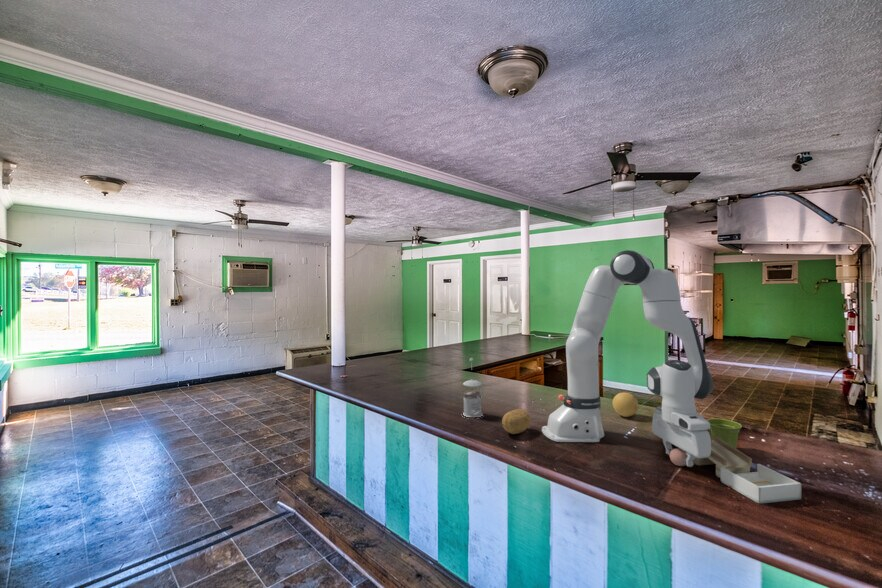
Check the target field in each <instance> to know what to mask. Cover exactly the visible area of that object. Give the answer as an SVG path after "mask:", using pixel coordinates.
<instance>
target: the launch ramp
mask: <svg viewBox="0 0 882 588" xmlns="http://www.w3.org/2000/svg"><path fill="white" fill-rule="evenodd" d="M752 461H753V458H751V457H750V456H748V455H746V454H745V453H744V452H742V451H741V450H739V449H738V448H737V447H736V448H734V447H733V446H731V445H730V444H728V443H727V442H725V441H724V440H722V439H720V438H719V437H717V436H714V440H712V439H711V455H710V456H709V457H708V458H697V457H696V458H695V459H694V461H693V464H695V465H697V466H709V465H715V476H716V477H717V478H720V479H721V467H723V468H725V469H727V470H729V471H731V472H732V473H734V474H739V473H750V472H751V467H752V465H753V462H752Z"/></svg>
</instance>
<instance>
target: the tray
mask: <svg viewBox="0 0 882 588" xmlns="http://www.w3.org/2000/svg"><path fill="white" fill-rule="evenodd" d="M720 482H721V483H722V484H724V485H725V486H727V487H729V488H731V489H733V490H735V491H736V492H738V493H740V494H741V495H743V496H745V497H746V498H748V499H750V500H752V501H754V502H755V503H757V505H758V504H769V503H778V502H787V501H788V502H789V501H797V500H802V483H801V482H799V481H797V480H795V479H793V478H790V477H788V476H786V475H784V474H782V473H780V472H778V471H775V470H773V469H771V468H769V467H767V466H766V465H765V466H764V465H763V464H761V463H757V471H752V472H751V471H750V473H739V474H734V473H732V472H731V471H729V470H727V469H725V468H723V467H721V478H720Z"/></svg>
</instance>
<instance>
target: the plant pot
mask: <svg viewBox="0 0 882 588" xmlns="http://www.w3.org/2000/svg"><path fill="white" fill-rule="evenodd" d="M706 420H707V421H708V422H709V423H710V429H709V430H710V438H711V440H714V436H717V437H719V438H720V439H722V440H724V441H725V442H727V443H728V444H730V445H731V446H733V447H734V448H736V449H737V443H738V438H739V433H740V431H741V429H742V428H743V426H742V424H741V423H739V422H736V421H733V420H729V419H726V418H725V419H724V418H708V419H706Z"/></svg>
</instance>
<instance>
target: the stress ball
mask: <svg viewBox="0 0 882 588" xmlns="http://www.w3.org/2000/svg"><path fill="white" fill-rule="evenodd" d="M612 407H613V409H614V411H615V412H616V413H617V414H618V415H619V416H621V417H623V418H629V417H632V416H634V415H635V414H636V413H637V412H638V410H639V409H640V407H639V402H638V399H637V397H635V396H634V395H633V394H632V393H630V392H619V393H617V394H616V395H614V397H613V399H612Z"/></svg>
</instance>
